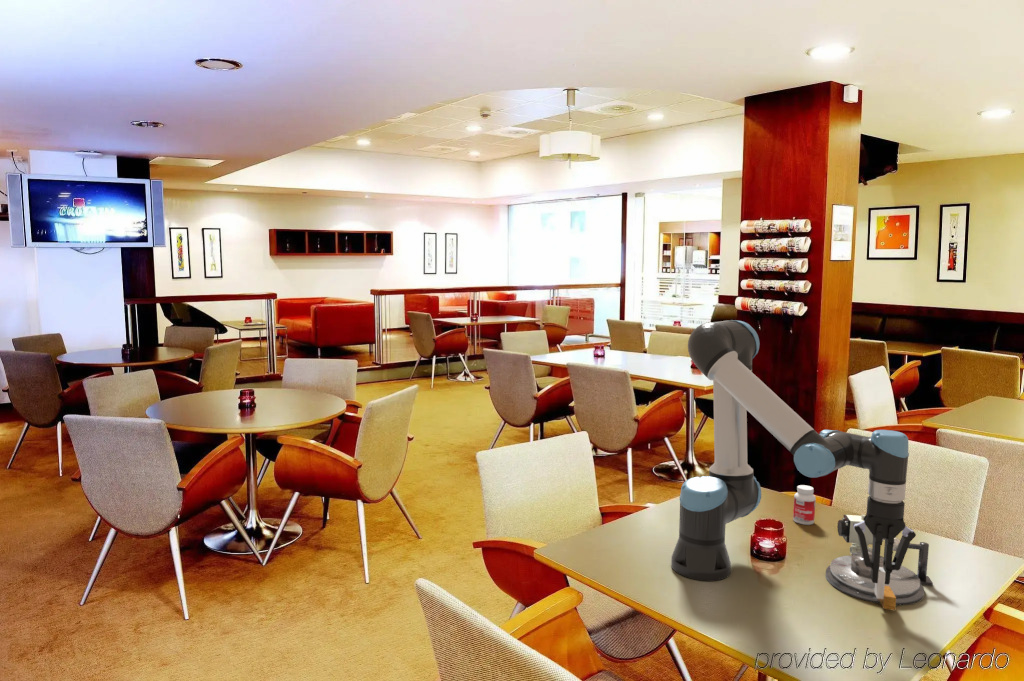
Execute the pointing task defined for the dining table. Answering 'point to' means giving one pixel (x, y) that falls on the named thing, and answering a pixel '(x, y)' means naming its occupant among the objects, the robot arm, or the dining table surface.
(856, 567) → the cover
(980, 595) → the dining table surface
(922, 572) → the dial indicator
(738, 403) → the robot arm
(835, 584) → the turntable base
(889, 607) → the turntable
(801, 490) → the pill bottle
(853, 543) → the pneumatic valve
